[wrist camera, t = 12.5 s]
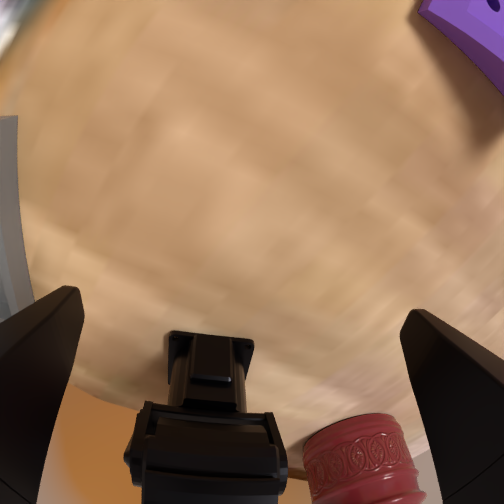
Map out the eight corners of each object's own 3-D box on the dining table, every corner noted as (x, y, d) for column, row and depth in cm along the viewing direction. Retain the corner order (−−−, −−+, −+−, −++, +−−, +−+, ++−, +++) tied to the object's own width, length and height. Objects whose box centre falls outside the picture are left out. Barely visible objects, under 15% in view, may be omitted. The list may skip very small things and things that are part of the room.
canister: (415, 406, 33) (464, 523, 17) (369, 455, 38) (398, 553, 23) (322, 413, 30) (358, 563, 15) (287, 462, 36) (305, 576, 21)
